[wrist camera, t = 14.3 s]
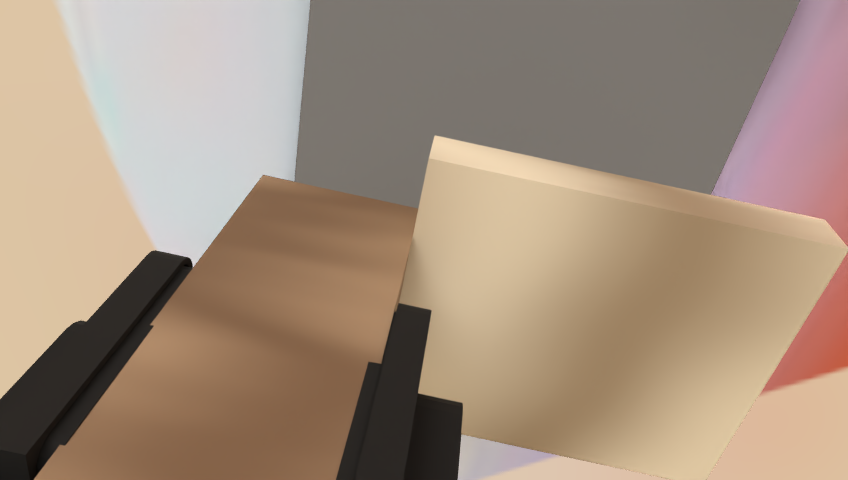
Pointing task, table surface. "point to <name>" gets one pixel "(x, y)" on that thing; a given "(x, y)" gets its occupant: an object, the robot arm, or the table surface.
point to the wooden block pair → (466, 322)
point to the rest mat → (530, 86)
